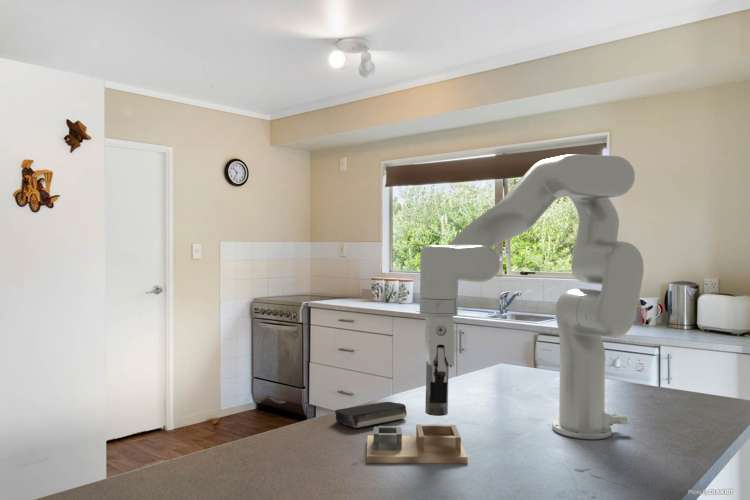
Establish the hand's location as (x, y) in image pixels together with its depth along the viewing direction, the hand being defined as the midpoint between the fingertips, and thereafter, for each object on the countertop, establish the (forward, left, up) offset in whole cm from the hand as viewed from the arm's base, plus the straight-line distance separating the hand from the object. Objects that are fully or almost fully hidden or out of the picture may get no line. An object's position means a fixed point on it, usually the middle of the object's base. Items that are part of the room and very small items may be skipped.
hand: (437, 398), depth 114 cm
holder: (+4, 0, -11) cm, 12 cm away
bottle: (0, 0, -3) cm, 3 cm away
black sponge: (+13, -20, -11) cm, 27 cm away
